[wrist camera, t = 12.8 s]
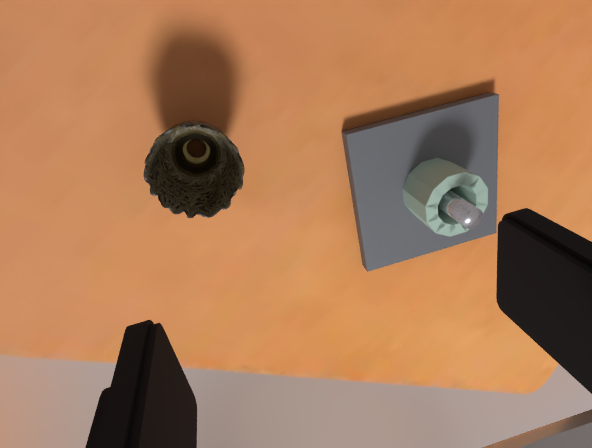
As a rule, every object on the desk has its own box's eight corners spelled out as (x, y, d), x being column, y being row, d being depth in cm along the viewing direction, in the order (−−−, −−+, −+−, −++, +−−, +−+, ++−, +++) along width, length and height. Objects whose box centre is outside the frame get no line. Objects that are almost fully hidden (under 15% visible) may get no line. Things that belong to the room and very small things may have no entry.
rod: (419, 182, 43) (462, 211, 36) (436, 177, 43) (483, 205, 36) (420, 199, 44) (462, 231, 37) (437, 194, 44) (483, 225, 37)
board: (341, 131, 41) (346, 134, 39) (489, 92, 42) (498, 94, 41) (362, 265, 48) (367, 271, 46) (488, 227, 49) (496, 232, 48)
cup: (182, 90, 36) (178, 104, 29) (251, 137, 39) (262, 161, 32) (139, 159, 38) (125, 188, 31) (208, 199, 41) (210, 234, 34)
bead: (400, 167, 42) (424, 183, 37) (458, 151, 42) (488, 165, 38) (405, 222, 45) (428, 243, 40) (459, 206, 45) (487, 225, 41)
